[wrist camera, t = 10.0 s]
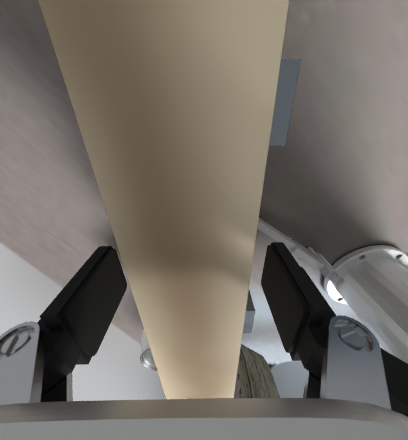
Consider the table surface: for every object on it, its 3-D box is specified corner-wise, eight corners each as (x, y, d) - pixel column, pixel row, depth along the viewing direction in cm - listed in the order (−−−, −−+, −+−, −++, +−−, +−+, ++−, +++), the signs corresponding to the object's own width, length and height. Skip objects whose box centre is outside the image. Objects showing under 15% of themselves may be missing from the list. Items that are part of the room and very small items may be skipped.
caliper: (318, 251, 28) (347, 282, 22) (313, 255, 28) (340, 287, 23) (210, 185, 23) (212, 204, 17) (205, 192, 23) (206, 213, 18)
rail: (240, 21, 8) (314, -181, 3) (224, 319, 18) (233, 397, 13) (129, 25, 8) (-15, -167, 3) (176, 320, 18) (166, 399, 13)
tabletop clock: (238, 315, 35) (297, 634, 13) (265, 333, 38) (351, 616, 16) (190, 344, 40) (174, 610, 18) (218, 357, 43) (233, 600, 21)
